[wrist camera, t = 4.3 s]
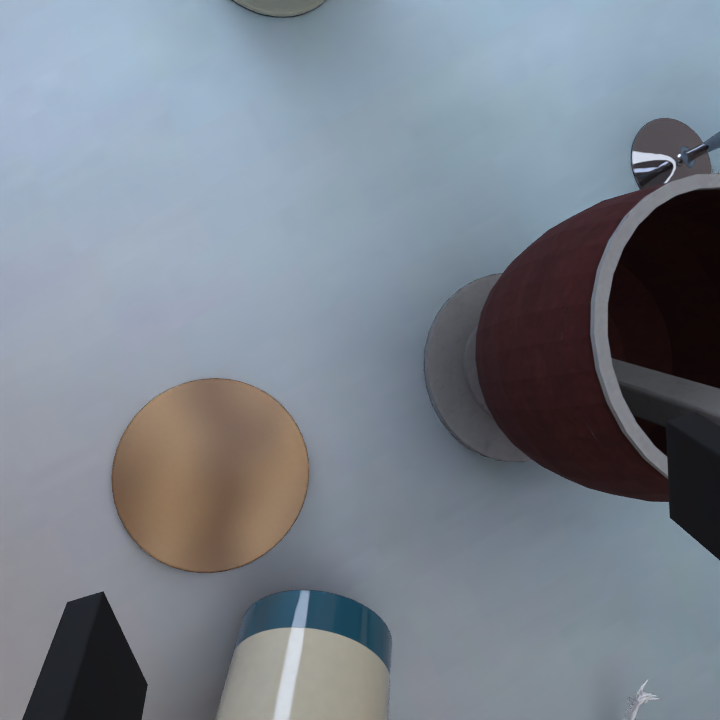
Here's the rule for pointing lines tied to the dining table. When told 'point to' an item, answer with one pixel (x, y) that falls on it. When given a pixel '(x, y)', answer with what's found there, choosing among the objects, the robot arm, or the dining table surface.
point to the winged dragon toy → (638, 702)
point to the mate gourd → (590, 341)
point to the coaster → (210, 475)
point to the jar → (308, 661)
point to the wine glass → (669, 152)
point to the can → (280, 6)
